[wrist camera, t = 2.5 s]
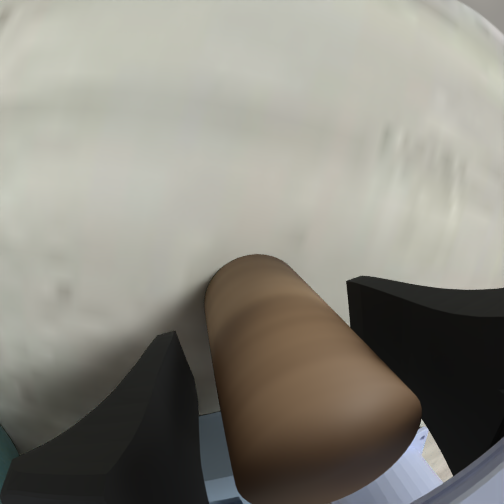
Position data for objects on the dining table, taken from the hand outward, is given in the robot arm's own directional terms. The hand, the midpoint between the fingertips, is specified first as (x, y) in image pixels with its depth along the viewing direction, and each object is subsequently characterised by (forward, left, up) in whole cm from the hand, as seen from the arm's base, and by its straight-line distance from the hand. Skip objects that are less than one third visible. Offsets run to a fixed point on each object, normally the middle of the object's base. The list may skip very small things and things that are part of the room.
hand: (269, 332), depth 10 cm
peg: (0, 0, -2) cm, 2 cm away
